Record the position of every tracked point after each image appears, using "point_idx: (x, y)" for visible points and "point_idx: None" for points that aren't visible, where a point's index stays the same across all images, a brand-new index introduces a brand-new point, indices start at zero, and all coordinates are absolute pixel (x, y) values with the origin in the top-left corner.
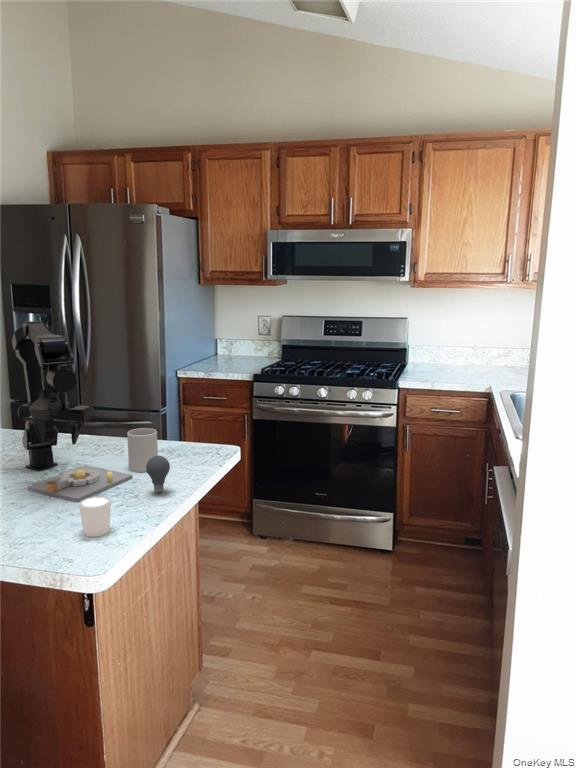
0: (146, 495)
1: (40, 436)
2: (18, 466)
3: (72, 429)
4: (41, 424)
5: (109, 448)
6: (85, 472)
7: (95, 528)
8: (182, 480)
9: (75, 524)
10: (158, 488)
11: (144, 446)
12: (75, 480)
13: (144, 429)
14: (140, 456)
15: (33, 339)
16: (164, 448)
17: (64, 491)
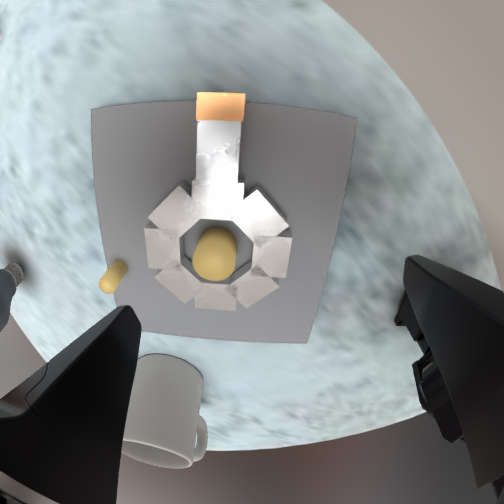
0: (21, 244)
1: (435, 276)
2: (474, 273)
3: (33, 389)
4: (483, 390)
5: (330, 414)
6: (223, 284)
7: None
8: (50, 334)
9: (25, 30)
10: (6, 267)
11: None
12: (185, 203)
13: (175, 464)
14: (135, 388)
15: None
16: (225, 436)
17: (178, 129)
